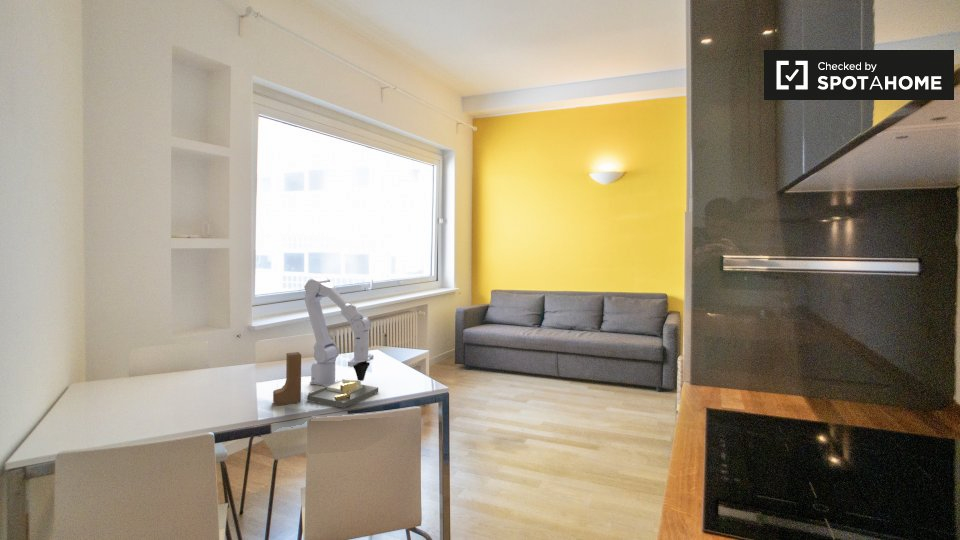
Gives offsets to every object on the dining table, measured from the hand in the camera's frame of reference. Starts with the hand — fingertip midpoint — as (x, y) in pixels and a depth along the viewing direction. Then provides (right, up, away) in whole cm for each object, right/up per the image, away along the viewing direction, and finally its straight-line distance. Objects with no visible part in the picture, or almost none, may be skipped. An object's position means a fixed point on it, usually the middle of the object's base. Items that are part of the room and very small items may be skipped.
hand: (360, 380), depth 205 cm
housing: (-4, -4, -12) cm, 13 cm away
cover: (-4, -1, -9) cm, 10 cm away
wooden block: (-22, -4, -21) cm, 31 cm away
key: (-1, -2, -20) cm, 20 cm away
